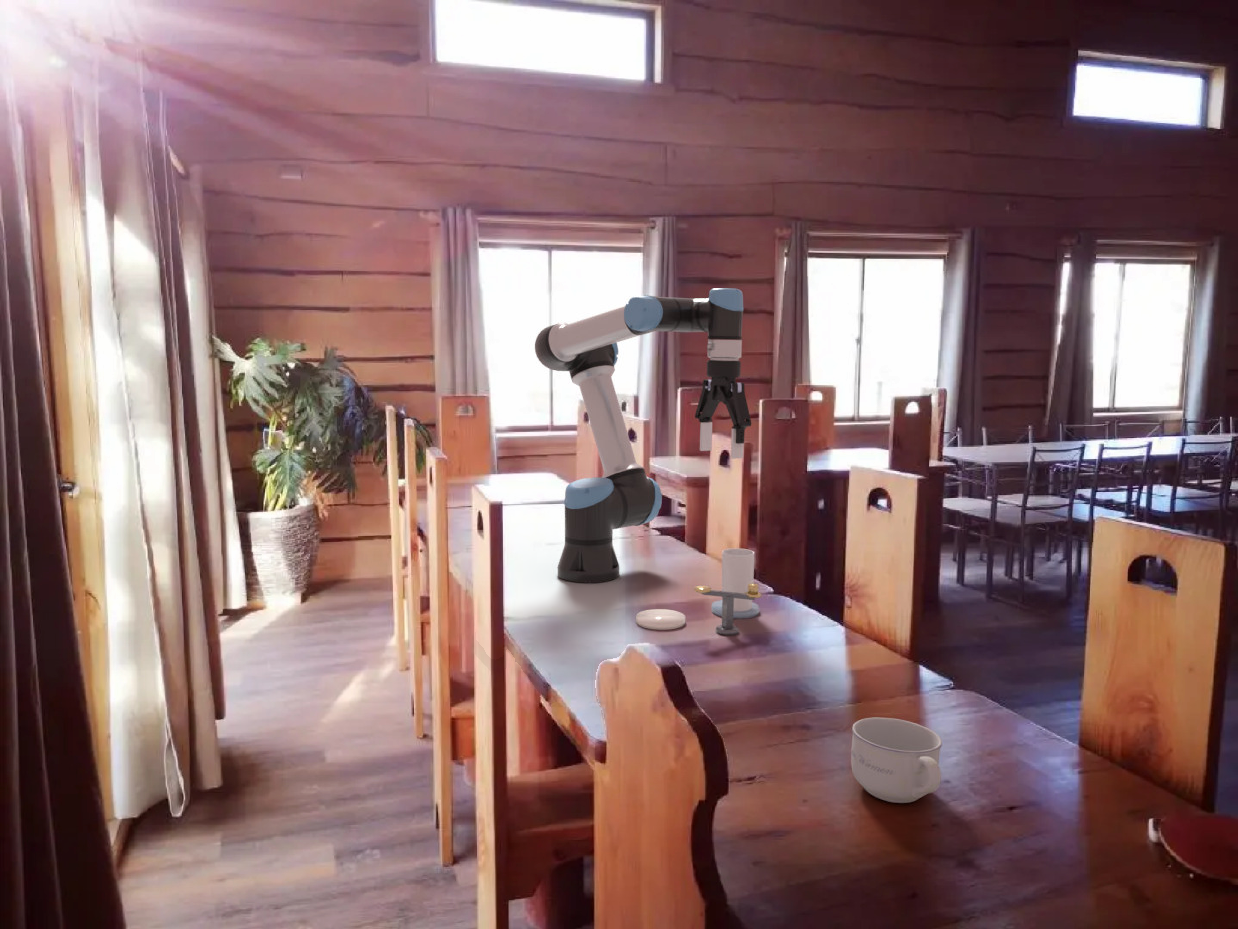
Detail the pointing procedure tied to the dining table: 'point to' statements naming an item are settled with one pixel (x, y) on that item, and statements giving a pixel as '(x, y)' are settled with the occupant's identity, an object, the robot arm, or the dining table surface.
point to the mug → (738, 574)
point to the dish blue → (745, 614)
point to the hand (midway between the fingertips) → (720, 454)
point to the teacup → (895, 759)
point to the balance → (729, 605)
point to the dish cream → (660, 619)
